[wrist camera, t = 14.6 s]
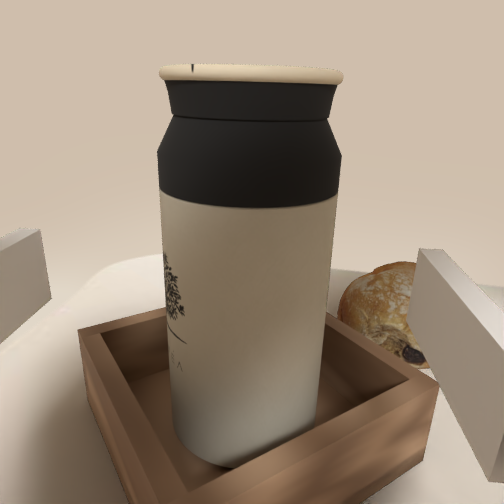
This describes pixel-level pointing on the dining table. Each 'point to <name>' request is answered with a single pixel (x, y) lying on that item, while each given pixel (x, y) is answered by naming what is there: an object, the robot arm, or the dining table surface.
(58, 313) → the dining table surface
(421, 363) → the bread roll
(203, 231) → the travel mug
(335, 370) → the walnut crate
